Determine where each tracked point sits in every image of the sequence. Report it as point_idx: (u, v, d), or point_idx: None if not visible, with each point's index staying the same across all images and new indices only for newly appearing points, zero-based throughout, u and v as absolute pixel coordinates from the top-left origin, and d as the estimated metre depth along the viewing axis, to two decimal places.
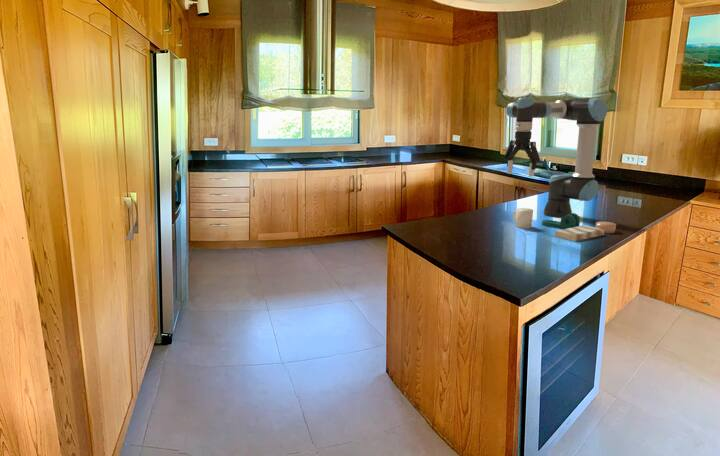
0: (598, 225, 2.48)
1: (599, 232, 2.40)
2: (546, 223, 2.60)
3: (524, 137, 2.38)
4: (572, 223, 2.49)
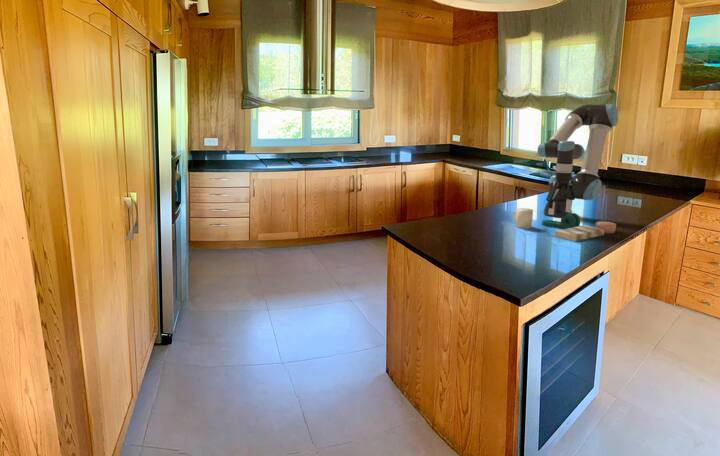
0: (598, 225, 2.48)
1: (599, 232, 2.40)
2: (546, 223, 2.60)
3: (555, 177, 2.53)
4: (572, 223, 2.49)
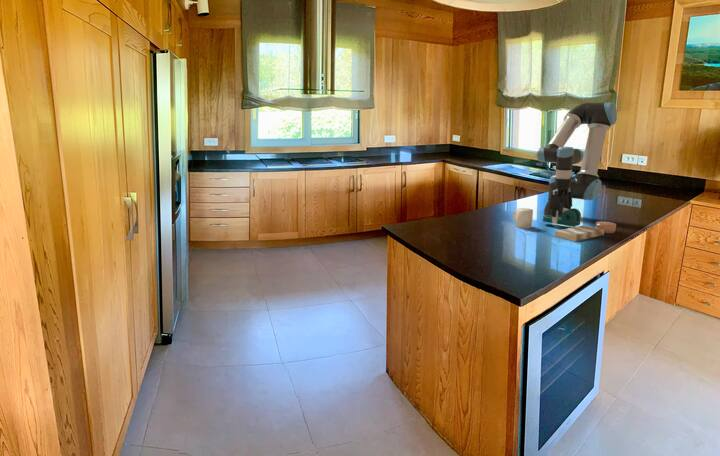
0: (598, 225, 2.48)
1: (599, 232, 2.40)
2: (547, 219, 2.60)
3: (555, 183, 2.54)
4: (573, 218, 2.49)
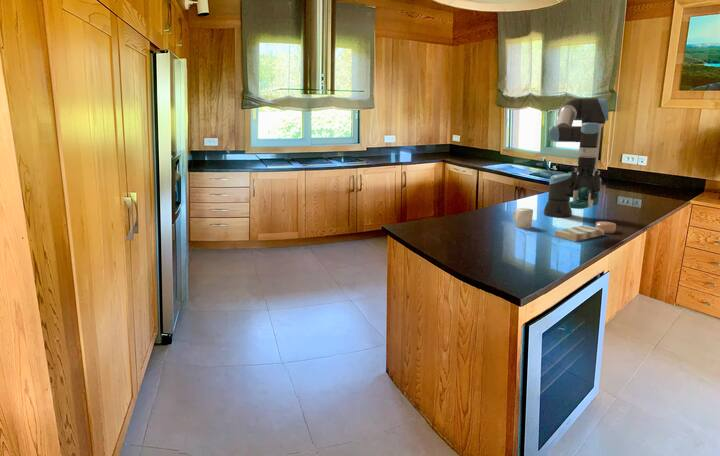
0: (598, 225, 2.48)
1: (599, 232, 2.40)
2: (584, 204, 2.32)
3: (589, 163, 2.29)
4: (598, 195, 2.40)
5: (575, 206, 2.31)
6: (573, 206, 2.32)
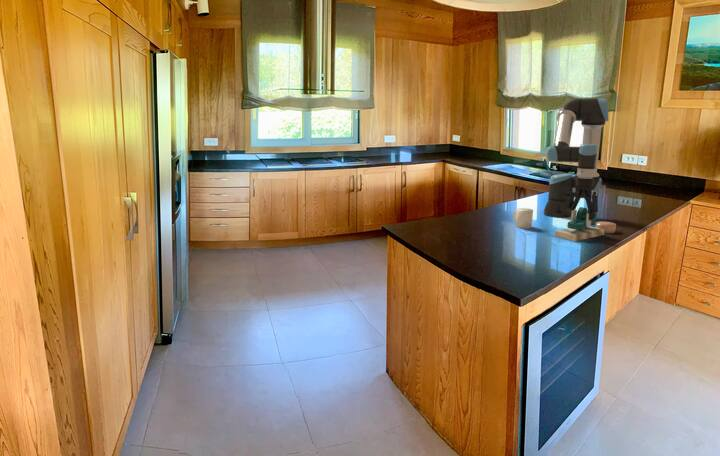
0: (598, 225, 2.48)
1: (599, 232, 2.40)
2: (582, 225, 2.34)
3: (587, 184, 2.31)
4: (596, 215, 2.42)
5: (573, 226, 2.33)
6: (571, 226, 2.34)
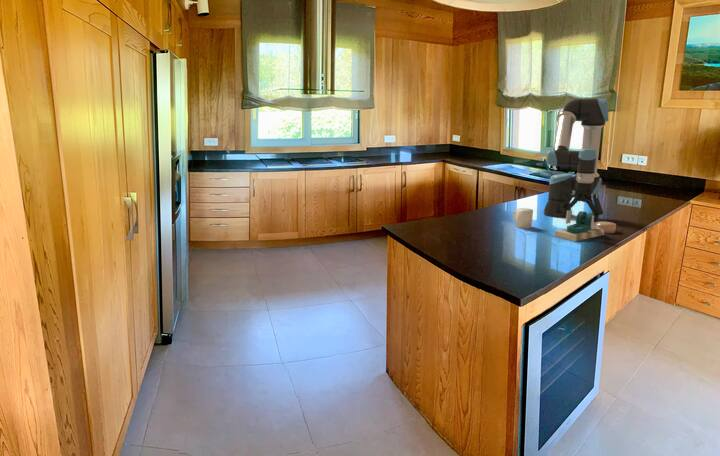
0: (598, 225, 2.48)
1: (599, 232, 2.40)
2: (582, 229, 2.34)
3: (586, 189, 2.32)
4: None
5: (572, 231, 2.34)
6: (570, 231, 2.35)
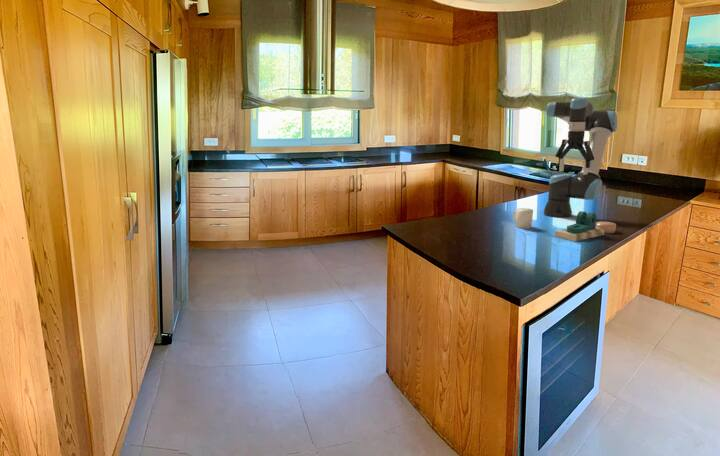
0: (598, 225, 2.48)
1: (599, 232, 2.40)
2: (582, 229, 2.34)
3: (578, 137, 2.46)
4: (595, 219, 2.42)
5: (572, 231, 2.34)
6: (570, 231, 2.34)
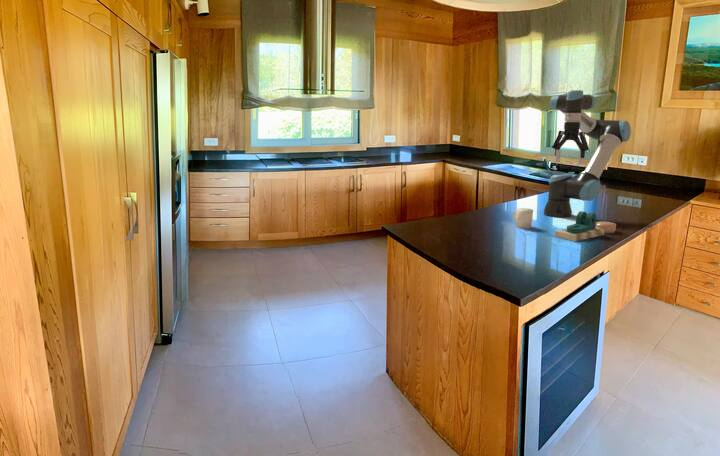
0: (598, 225, 2.48)
1: (599, 232, 2.40)
2: (582, 229, 2.34)
3: (574, 127, 2.53)
4: (595, 219, 2.42)
5: (572, 231, 2.34)
6: (570, 231, 2.34)
